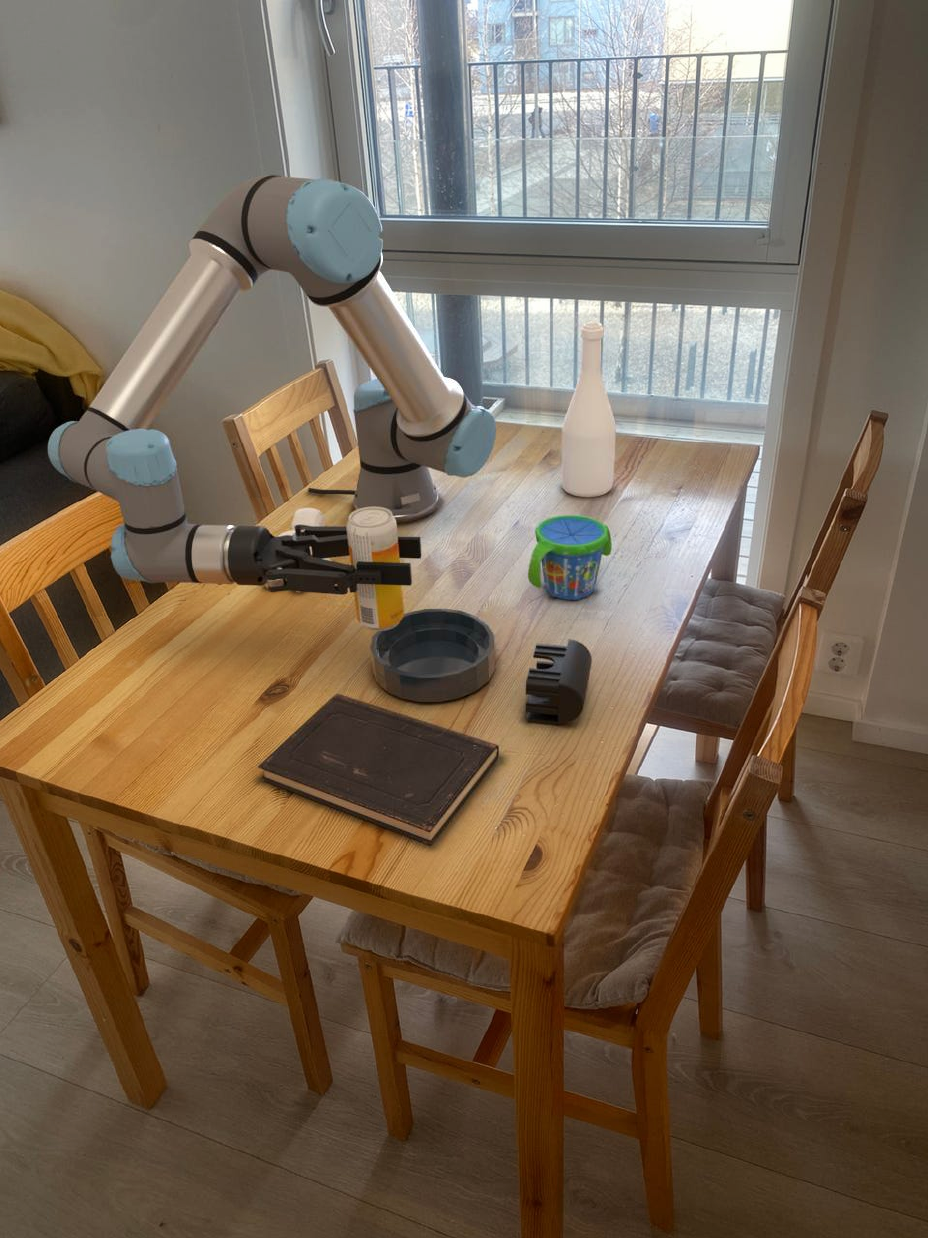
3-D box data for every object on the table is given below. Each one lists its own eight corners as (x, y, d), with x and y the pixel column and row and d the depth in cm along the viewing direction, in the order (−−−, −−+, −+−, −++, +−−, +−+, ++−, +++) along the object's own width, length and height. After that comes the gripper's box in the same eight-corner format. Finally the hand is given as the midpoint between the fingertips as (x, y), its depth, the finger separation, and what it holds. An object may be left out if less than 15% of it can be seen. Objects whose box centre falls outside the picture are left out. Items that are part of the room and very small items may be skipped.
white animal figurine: (314, 606, 149) (345, 535, 157) (298, 572, 142) (332, 499, 150) (265, 599, 151) (299, 529, 159) (247, 565, 144) (284, 494, 152)
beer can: (411, 612, 124) (403, 507, 116) (393, 636, 119) (383, 529, 111) (369, 605, 125) (358, 502, 117) (349, 629, 121) (336, 523, 113)
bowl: (348, 678, 127) (345, 650, 124) (426, 623, 138) (424, 596, 135) (444, 721, 118) (442, 692, 116) (519, 659, 129) (518, 631, 126)
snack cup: (587, 561, 151) (589, 503, 146) (632, 587, 144) (635, 527, 138) (508, 591, 144) (507, 531, 139) (551, 620, 137) (551, 558, 131)
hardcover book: (430, 846, 100) (429, 830, 99) (261, 780, 110) (258, 765, 109) (499, 757, 112) (499, 742, 111) (340, 705, 122) (338, 690, 120)
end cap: (582, 731, 115) (584, 686, 112) (525, 725, 117) (525, 680, 113) (591, 683, 124) (592, 640, 120) (537, 678, 125) (537, 635, 121)
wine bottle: (583, 473, 181) (588, 313, 165) (623, 486, 175) (632, 322, 159) (550, 489, 175) (552, 325, 159) (590, 503, 169) (596, 335, 153)
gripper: (264, 546, 130) (430, 551, 127) (214, 620, 114) (403, 628, 111) (255, 496, 126) (426, 499, 123) (203, 566, 110) (398, 572, 107)
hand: (415, 560), depth 117 cm, fingers closed on beer can, 6 cm apart
